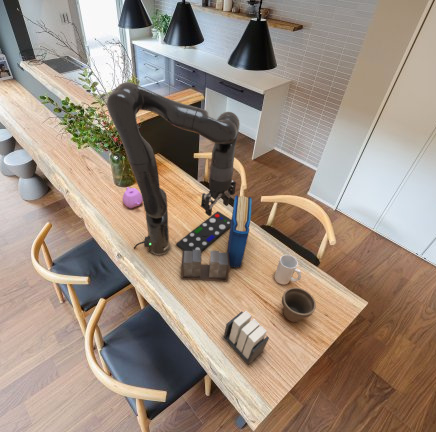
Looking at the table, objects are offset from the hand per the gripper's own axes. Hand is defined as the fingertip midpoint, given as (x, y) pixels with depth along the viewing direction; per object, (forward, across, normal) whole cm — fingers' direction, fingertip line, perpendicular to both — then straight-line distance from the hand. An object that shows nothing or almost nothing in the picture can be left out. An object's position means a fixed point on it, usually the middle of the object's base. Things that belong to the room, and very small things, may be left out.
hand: (217, 209), depth 112 cm
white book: (+32, +15, +30) cm, 47 cm away
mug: (+33, -18, +26) cm, 46 cm away
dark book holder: (+33, +15, +33) cm, 49 cm away
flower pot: (+33, -8, +37) cm, 51 cm away
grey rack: (+33, +6, +2) cm, 34 cm away
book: (+33, -14, +1) cm, 36 cm away
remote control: (+33, -10, -14) cm, 38 cm away
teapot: (+33, +6, -55) cm, 64 cm away
